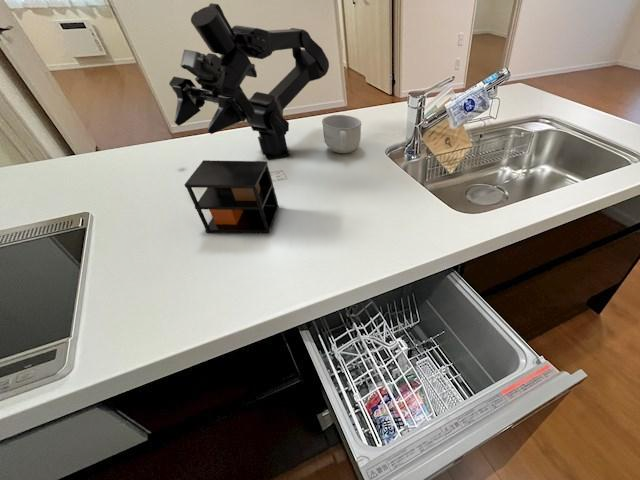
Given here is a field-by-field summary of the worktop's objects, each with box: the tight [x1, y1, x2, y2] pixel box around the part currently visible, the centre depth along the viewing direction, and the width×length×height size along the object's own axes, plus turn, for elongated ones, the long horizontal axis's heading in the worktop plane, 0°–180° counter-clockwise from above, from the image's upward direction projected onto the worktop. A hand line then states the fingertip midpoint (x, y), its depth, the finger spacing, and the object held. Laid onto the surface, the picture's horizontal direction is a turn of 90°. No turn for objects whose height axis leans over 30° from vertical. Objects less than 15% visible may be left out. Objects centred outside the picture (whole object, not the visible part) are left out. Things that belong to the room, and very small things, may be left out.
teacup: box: [321, 114, 362, 154], centre depth 98 cm, size 14×11×8 cm
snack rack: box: [183, 159, 280, 234], centre depth 72 cm, size 10×13×11 cm
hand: (192, 128), depth 73 cm, fingers open, 9 cm apart
